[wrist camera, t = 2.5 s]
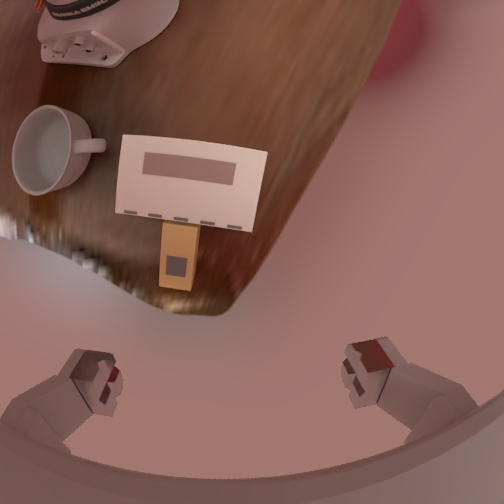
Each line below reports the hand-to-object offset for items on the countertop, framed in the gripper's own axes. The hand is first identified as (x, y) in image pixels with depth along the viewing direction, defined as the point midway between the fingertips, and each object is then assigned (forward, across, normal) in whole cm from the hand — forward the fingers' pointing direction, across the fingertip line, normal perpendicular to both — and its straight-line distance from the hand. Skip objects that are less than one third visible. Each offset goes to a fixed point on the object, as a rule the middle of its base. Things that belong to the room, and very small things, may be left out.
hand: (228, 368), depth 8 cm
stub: (+28, +7, +4) cm, 29 cm away
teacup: (+27, +21, -10) cm, 36 cm away
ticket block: (+27, +5, -4) cm, 28 cm away
